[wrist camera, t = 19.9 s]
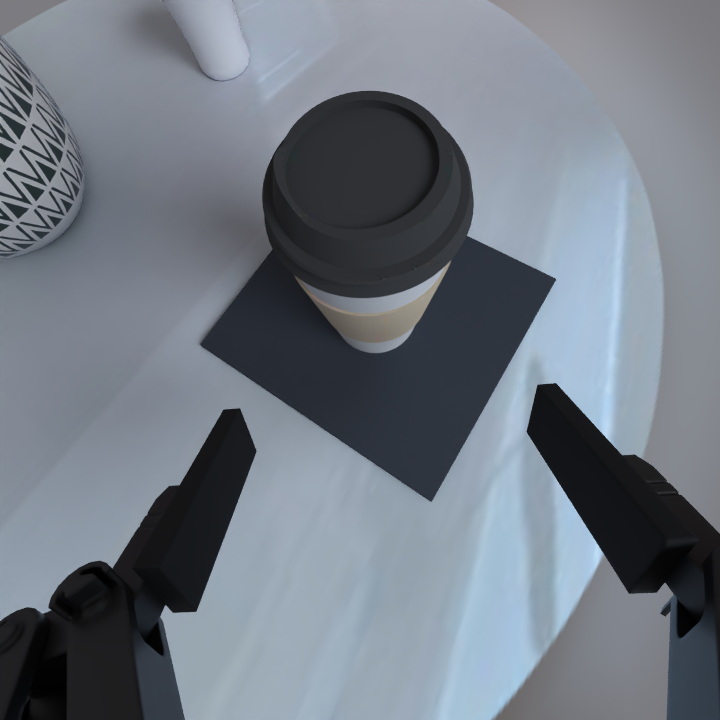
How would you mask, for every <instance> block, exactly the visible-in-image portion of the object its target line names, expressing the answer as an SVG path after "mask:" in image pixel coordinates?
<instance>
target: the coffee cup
mask: <svg viewBox="0 0 720 720" xmlns="http://www.w3.org/2000/svg"><path fill="white" fill-rule="evenodd" d="M262 200H263V210H264V217H265V227H266V231H267V235H268V238H269V241H270V244H271V246H272V248H273V250H274V252H275V254H276V255H277V257H278V258H279V259H280V261H281V262H282V263H283V264H284V266H285V267H286V268H287V269H288V270H289V271H290V272H291V273H292V274H294V276H295V278H296V279H297V281H298V283H299V284H300V285H301V287H302V288H303V289H304V290H305V292H306V293H307V294H308V295H309V297H310V298H311V299H312V301H313V302H314V303H315V304H316V306H317V307H318V308H319V309H320V311H321V312H322V313H323V315H324V316H325V317H326V318H327V320H328V321H329V322H330V323H331V325H332V326H333V327H334V328H335V329H336V330H337V331H338V332H339V333H340V335H341V336H342V338H343V339H344V340H345V341H346V342H347V343H348V344H350V345H351V346H352V347H354V348H356V349H358V350H361V351H364V352H368V353H382V352H387V351H390V350H392V349H394V348H396V347H398V346H399V345H401V344H402V343H403V342H404V341H405V340H406V339H407V338H408V337H409V335H410V334H411V332H412V330H413V328H414V326H415V325H416V324H417V322H418V321H419V320H420V318H421V317H422V315H423V313H424V311H425V310H426V308H427V306H428V304H429V302H430V300H431V299H432V297H433V295H434V293H435V291H436V289H437V288H438V286H439V284H440V282H441V280H442V278H443V277H444V275H445V273H446V271H447V269H448V267H449V265H450V262H451V260H452V258H453V257H454V256H455V255H456V253H457V252H458V250H459V249H460V247H461V246H462V244H463V242H464V240H465V238H466V236H467V234H468V231H469V228H470V225H471V221H472V216H473V206H474V201H473V191H472V183H471V175H470V171H469V167H468V164H467V161H466V159H465V156H464V154H463V152H462V151H461V149H460V147H459V146H458V144H457V143H456V141H455V140H454V139H453V137H452V136H451V135H450V134H449V133H448V132H447V131H446V130H445V129H444V128H443V127H442V125H441V124H440V123H439V121H438V120H437V119H436V118H435V117H434V116H433V115H432V114H431V113H430V112H429V111H428V110H426V109H425V108H424V107H422V106H421V105H419V104H418V103H416V102H414V101H412V100H410V99H408V98H405V97H403V96H400V95H396V94H392V93H387V92H380V91H359V92H351V93H346V94H343V95H339V96H336V97H333V98H331V99H328V100H326V101H324V102H322V103H320V104H318V105H317V106H315V107H314V108H312V109H311V110H309V111H308V112H307V113H305V114H304V115H303V116H302V117H301V118H300V119H299V120H298V121H297V122H296V123H295V124H294V126H293V127H292V128H291V130H290V131H289V133H288V134H287V136H286V137H285V139H284V140H283V141H282V142H281V144H280V145H279V147H278V148H277V150H276V151H275V153H274V155H273V157H272V159H271V161H270V163H269V165H268V168H267V171H266V174H265V178H264V183H263V193H262Z"/></svg>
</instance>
